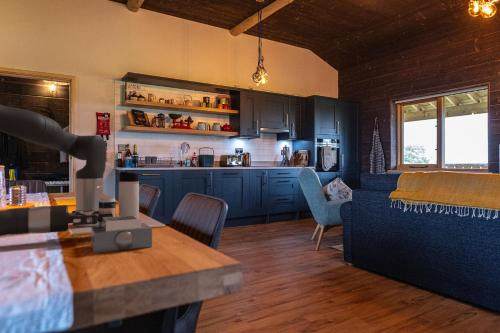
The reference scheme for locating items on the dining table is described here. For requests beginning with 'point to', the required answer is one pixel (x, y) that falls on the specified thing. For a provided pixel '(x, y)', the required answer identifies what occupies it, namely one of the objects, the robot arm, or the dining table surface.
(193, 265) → the dining table surface
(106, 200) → the beer can
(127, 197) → the travel mug
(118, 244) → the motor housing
